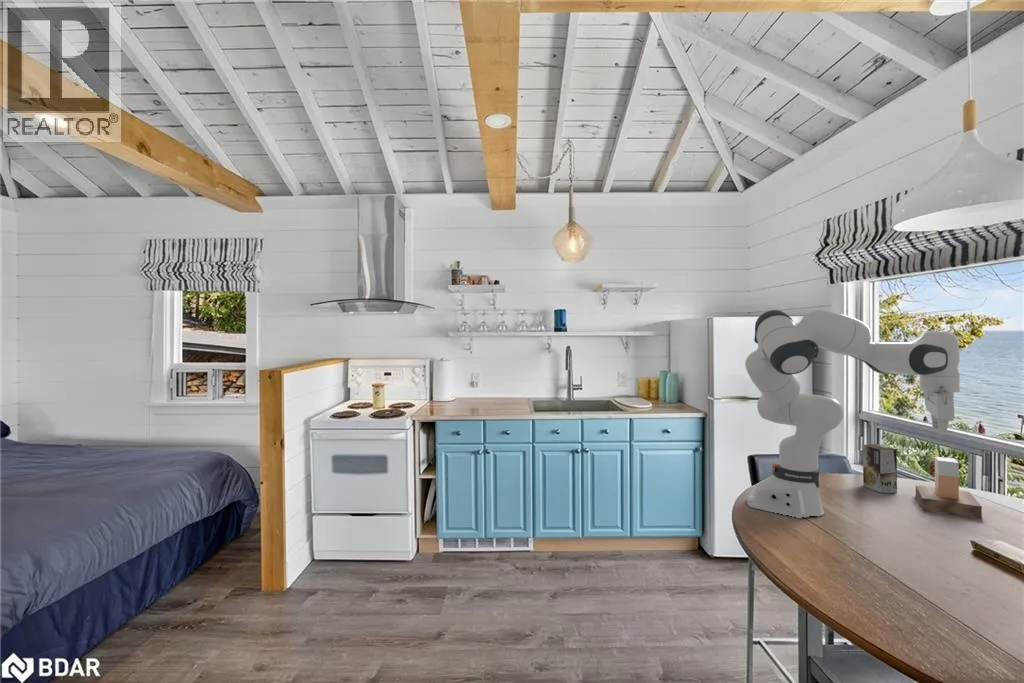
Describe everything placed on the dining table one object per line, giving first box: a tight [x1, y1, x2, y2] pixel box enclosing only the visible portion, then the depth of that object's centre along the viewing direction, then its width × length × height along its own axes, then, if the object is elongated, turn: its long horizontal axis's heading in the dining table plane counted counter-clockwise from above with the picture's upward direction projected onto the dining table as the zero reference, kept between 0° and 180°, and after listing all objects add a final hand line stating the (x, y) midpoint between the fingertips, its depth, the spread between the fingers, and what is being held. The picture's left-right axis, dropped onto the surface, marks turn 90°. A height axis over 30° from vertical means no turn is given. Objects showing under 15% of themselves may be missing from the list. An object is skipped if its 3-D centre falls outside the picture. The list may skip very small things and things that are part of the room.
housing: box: [934, 456, 960, 499], centre depth 157 cm, size 5×6×12 cm
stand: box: [915, 484, 983, 520], centre depth 157 cm, size 14×16×4 cm
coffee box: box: [862, 443, 898, 494], centre depth 176 cm, size 9×6×16 cm
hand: (939, 431), depth 140 cm, fingers open, 8 cm apart
